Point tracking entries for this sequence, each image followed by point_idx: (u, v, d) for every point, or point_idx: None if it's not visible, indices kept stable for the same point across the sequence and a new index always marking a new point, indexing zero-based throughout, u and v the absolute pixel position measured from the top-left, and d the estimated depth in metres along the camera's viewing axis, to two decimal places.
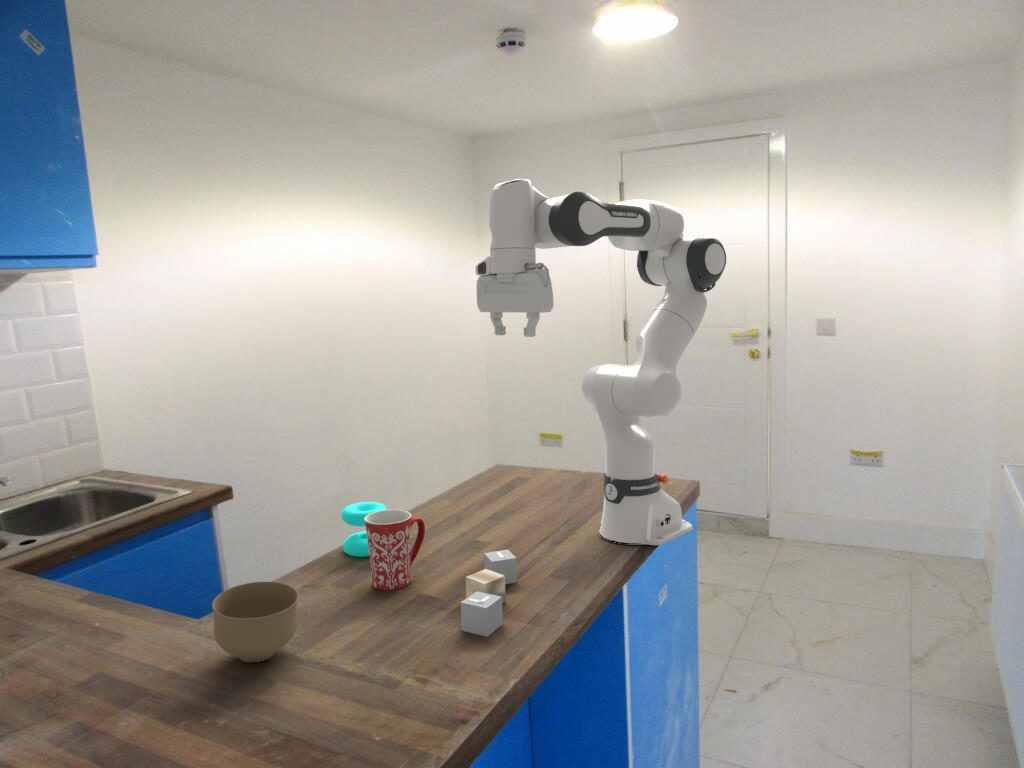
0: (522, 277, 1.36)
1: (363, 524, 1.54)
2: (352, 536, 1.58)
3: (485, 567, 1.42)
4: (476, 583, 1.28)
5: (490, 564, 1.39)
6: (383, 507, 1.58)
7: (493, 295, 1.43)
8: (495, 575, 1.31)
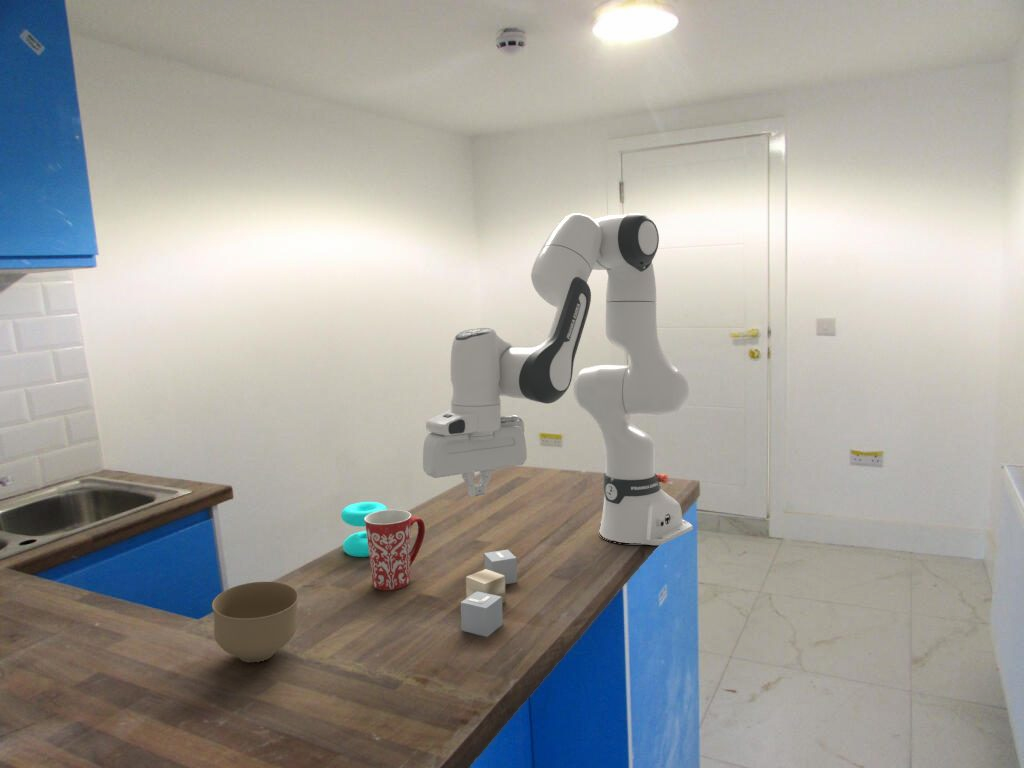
0: (505, 432, 1.31)
1: (363, 524, 1.54)
2: (352, 536, 1.58)
3: (485, 567, 1.42)
4: (476, 583, 1.28)
5: (490, 564, 1.39)
6: (383, 507, 1.58)
7: (461, 455, 1.26)
8: (496, 575, 1.31)
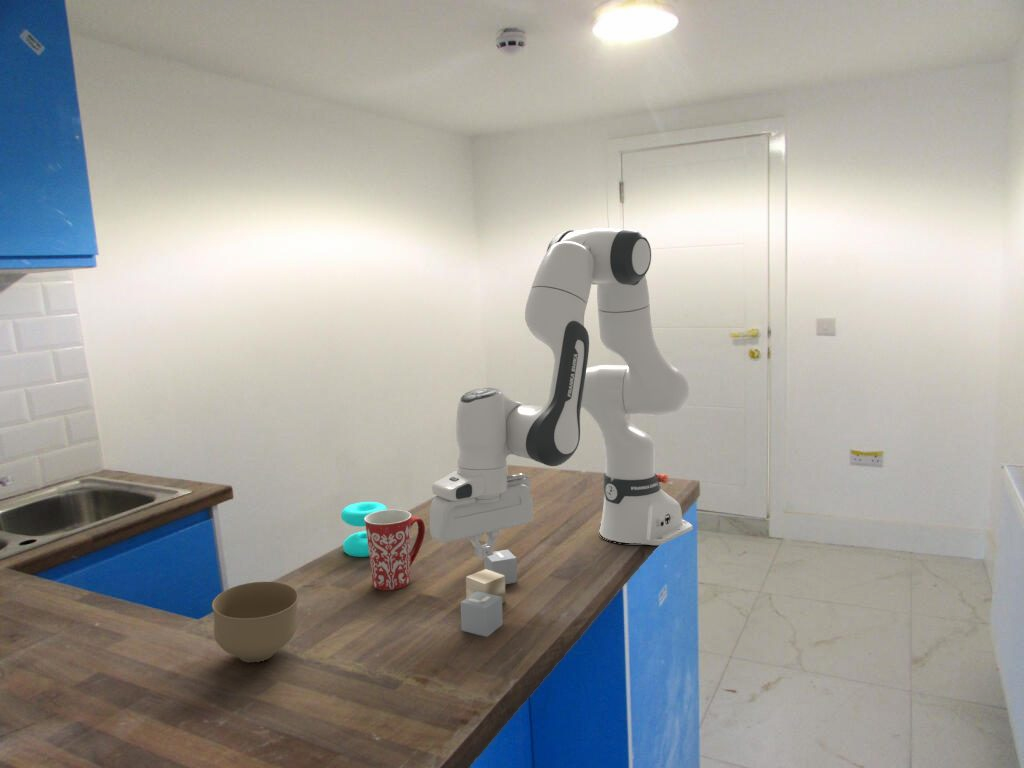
0: (512, 492, 1.30)
1: (363, 524, 1.54)
2: (352, 536, 1.58)
3: (485, 567, 1.42)
4: (476, 583, 1.28)
5: (490, 564, 1.39)
6: (383, 507, 1.58)
7: (468, 519, 1.25)
8: (496, 575, 1.31)
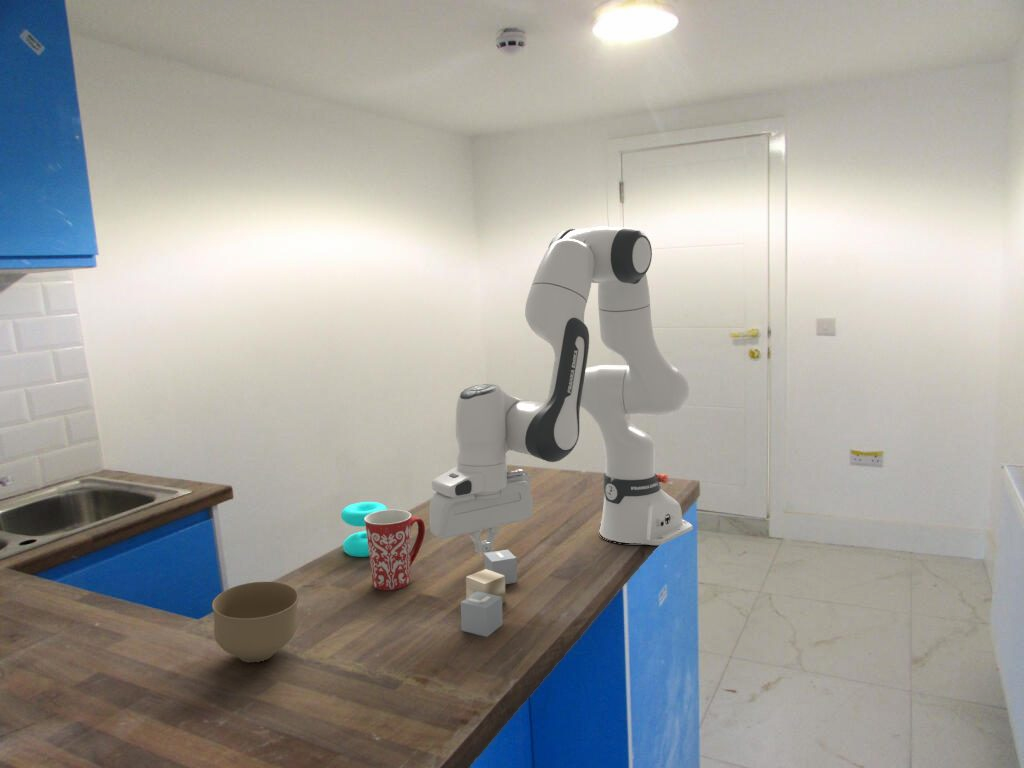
0: (511, 488, 1.30)
1: (363, 524, 1.54)
2: (352, 536, 1.58)
3: (485, 567, 1.42)
4: (476, 583, 1.28)
5: (490, 564, 1.39)
6: (383, 507, 1.58)
7: (468, 515, 1.25)
8: (496, 575, 1.31)
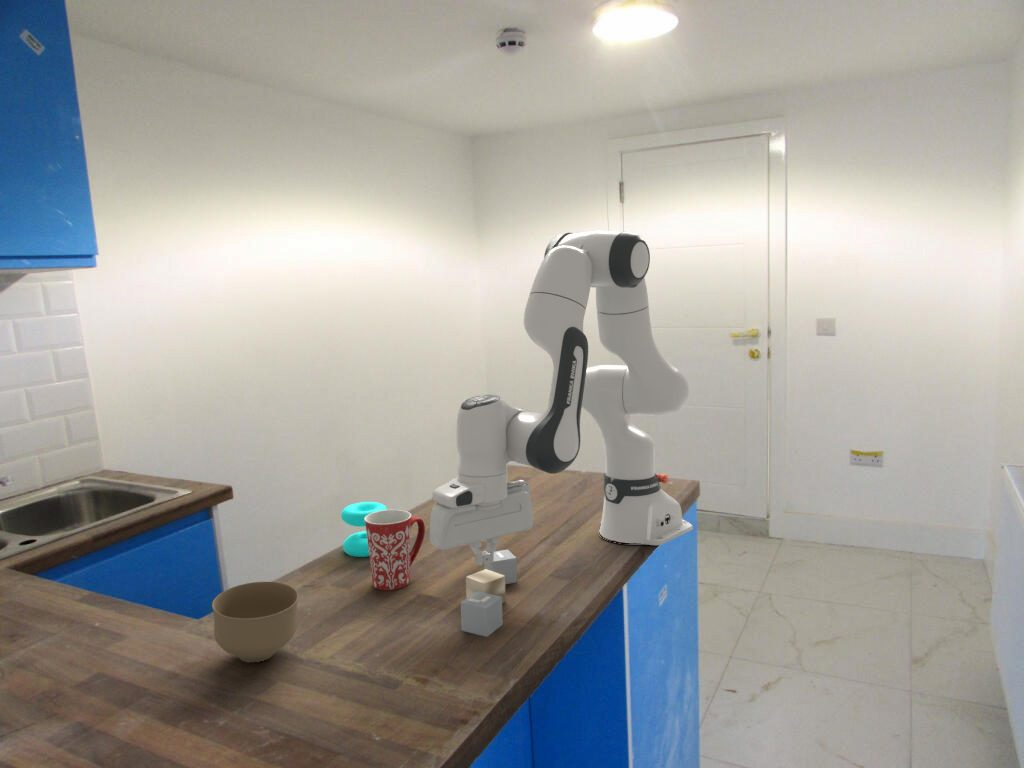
0: (512, 498, 1.30)
1: (363, 524, 1.54)
2: (352, 536, 1.58)
3: (485, 567, 1.42)
4: (476, 583, 1.28)
5: (490, 564, 1.39)
6: (383, 507, 1.58)
7: (468, 526, 1.25)
8: (496, 575, 1.31)
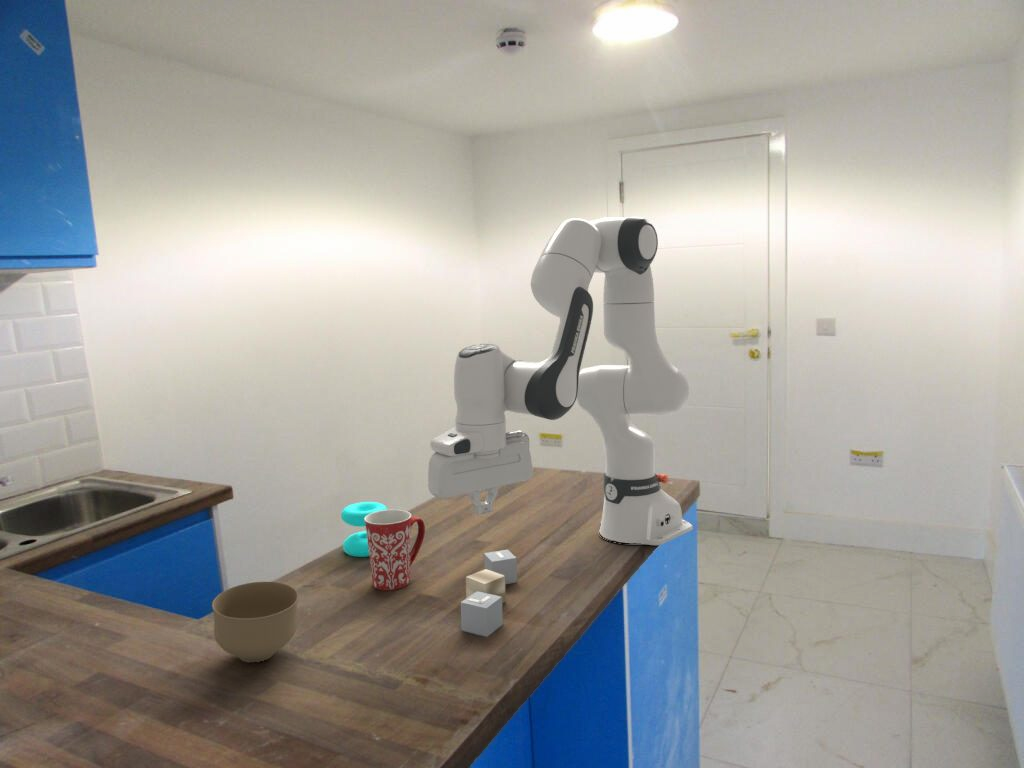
0: (510, 448, 1.29)
1: (363, 524, 1.54)
2: (352, 536, 1.58)
3: (485, 567, 1.42)
4: (476, 583, 1.28)
5: (490, 564, 1.39)
6: (383, 507, 1.58)
7: (467, 475, 1.24)
8: (495, 575, 1.31)
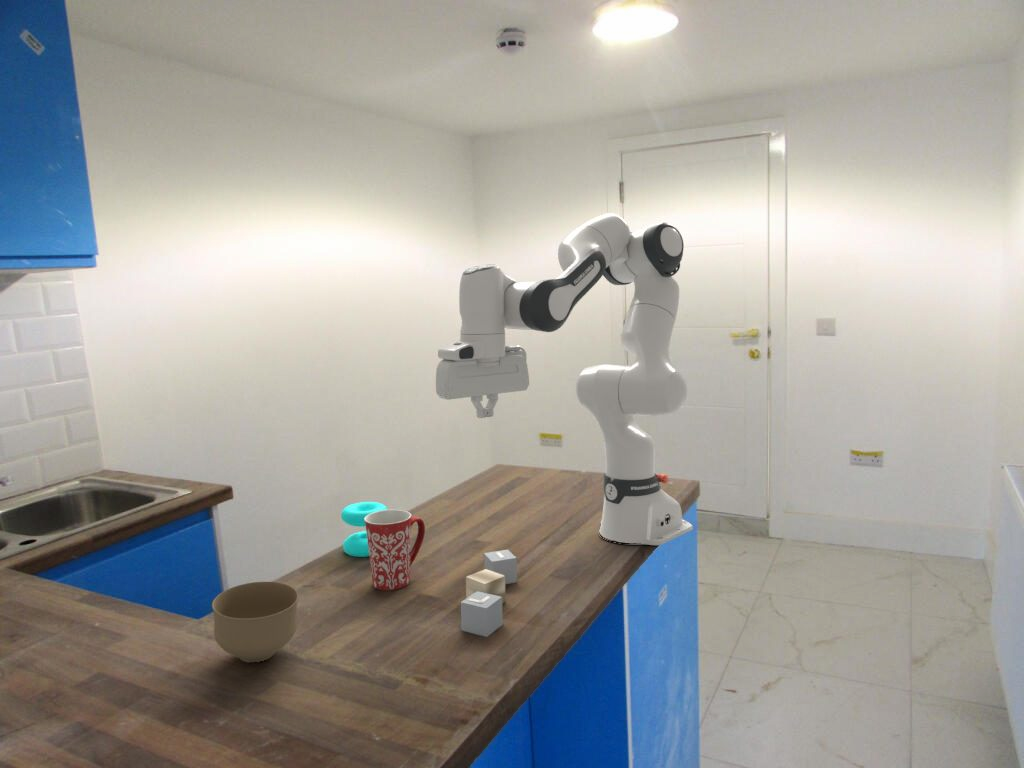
0: (509, 359, 1.44)
1: (363, 524, 1.54)
2: (352, 536, 1.58)
3: (485, 567, 1.42)
4: (476, 583, 1.28)
5: (490, 564, 1.39)
6: (383, 507, 1.58)
7: (470, 380, 1.39)
8: (496, 575, 1.31)
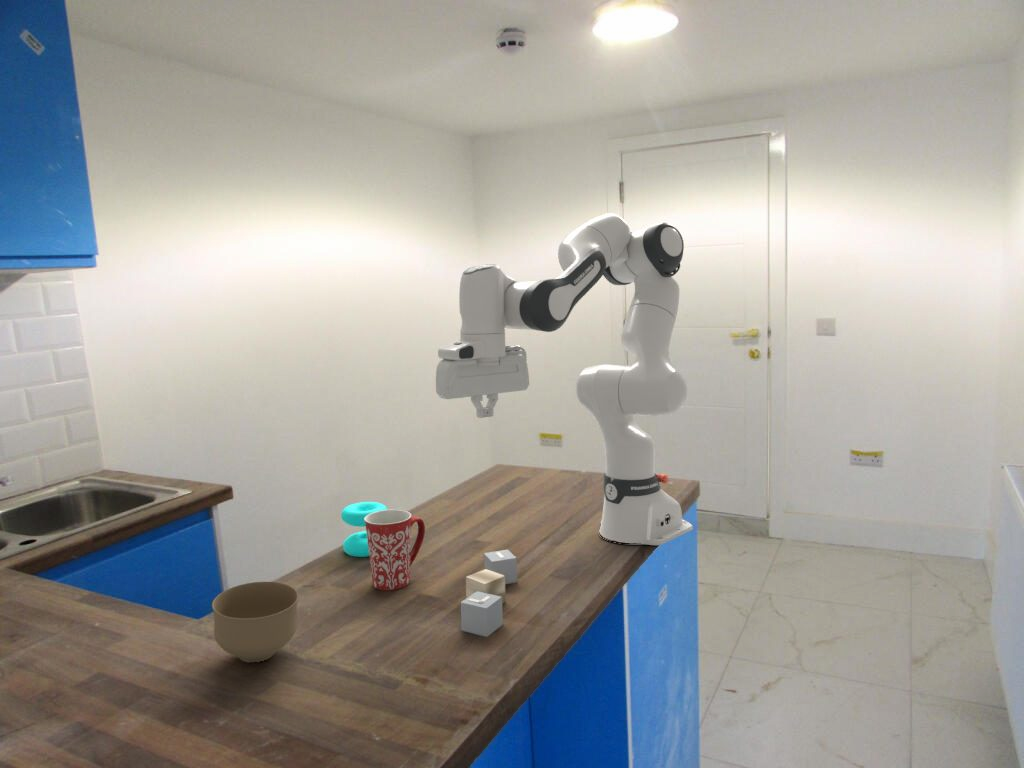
0: (509, 359, 1.44)
1: (363, 524, 1.54)
2: (352, 536, 1.58)
3: (485, 567, 1.42)
4: (476, 583, 1.28)
5: (490, 564, 1.39)
6: (383, 507, 1.58)
7: (470, 379, 1.39)
8: (495, 575, 1.31)
